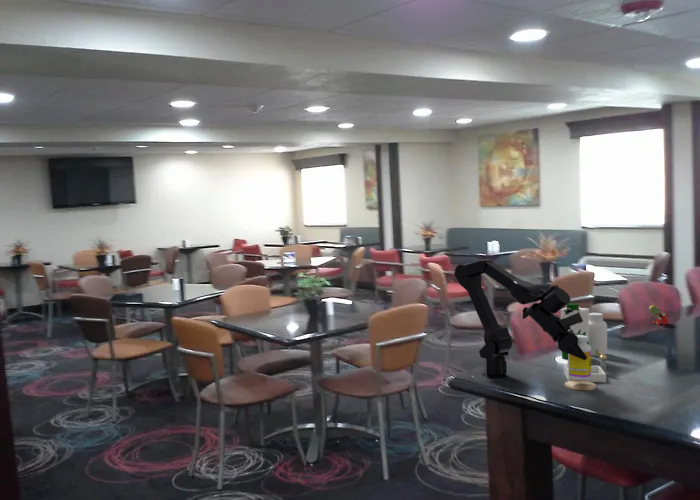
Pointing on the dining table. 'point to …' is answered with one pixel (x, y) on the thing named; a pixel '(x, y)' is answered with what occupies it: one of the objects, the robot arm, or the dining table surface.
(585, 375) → the supplement bottle
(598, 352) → the brass lever handle
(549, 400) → the dining table surface
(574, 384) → the coaster
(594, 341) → the pill bottle
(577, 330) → the milk carton
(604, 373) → the socket collar
